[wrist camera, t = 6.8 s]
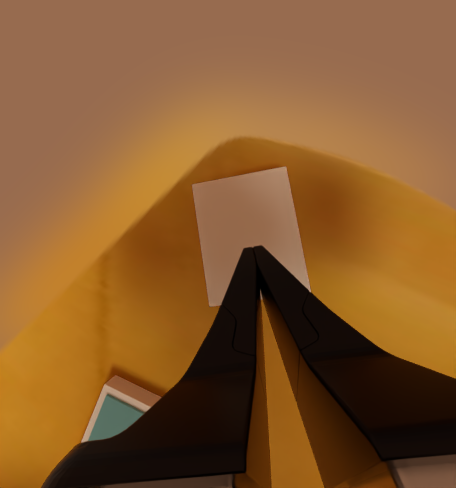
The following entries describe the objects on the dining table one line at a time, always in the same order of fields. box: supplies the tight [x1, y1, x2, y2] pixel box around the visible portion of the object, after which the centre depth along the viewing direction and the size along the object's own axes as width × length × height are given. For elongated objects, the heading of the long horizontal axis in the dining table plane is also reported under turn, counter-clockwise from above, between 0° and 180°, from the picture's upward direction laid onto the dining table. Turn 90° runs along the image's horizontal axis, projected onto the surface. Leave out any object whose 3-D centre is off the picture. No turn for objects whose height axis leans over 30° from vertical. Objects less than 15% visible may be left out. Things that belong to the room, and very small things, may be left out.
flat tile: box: [81, 375, 162, 443], centre depth 16 cm, size 9×7×2 cm
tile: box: [192, 166, 311, 307], centre depth 16 cm, size 2×7×9 cm
